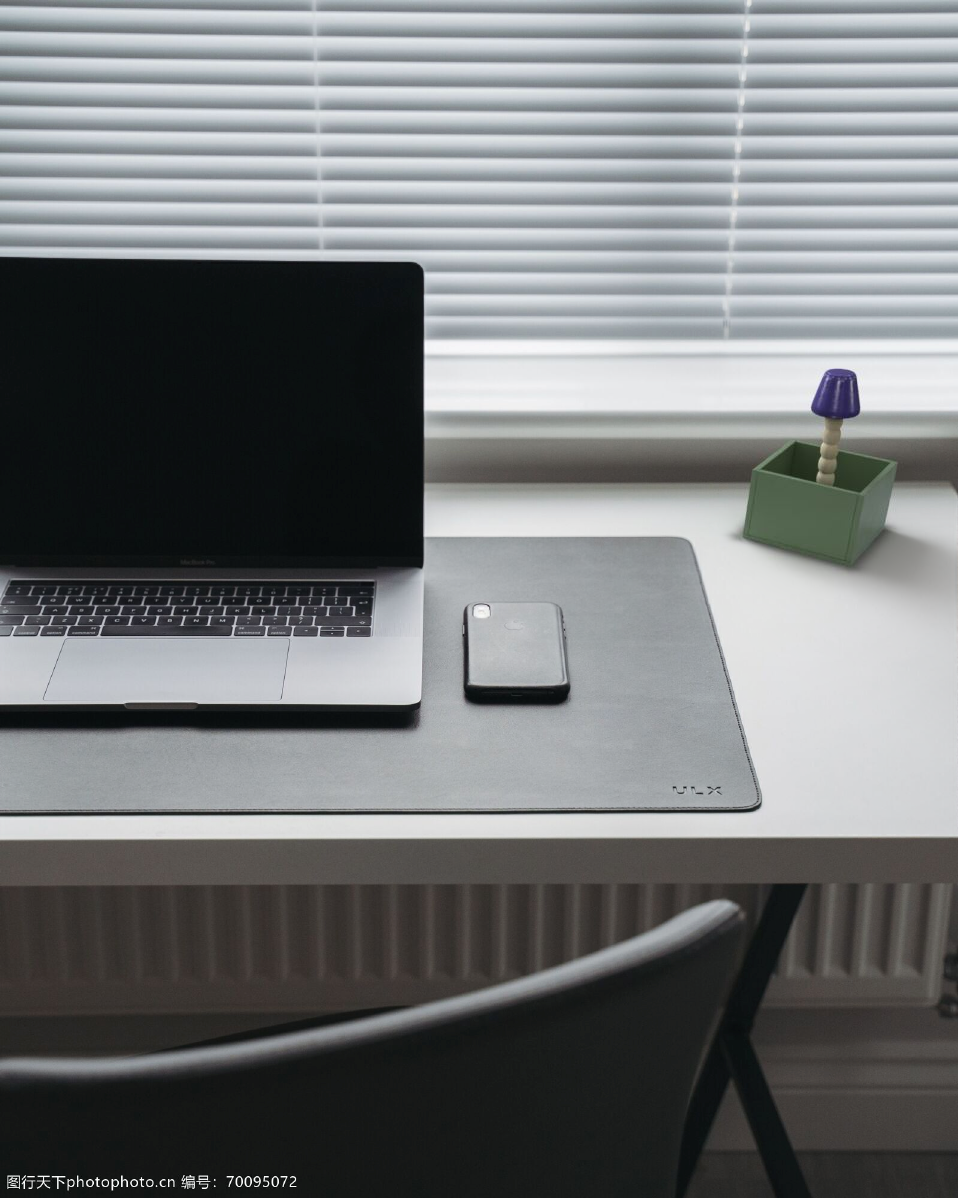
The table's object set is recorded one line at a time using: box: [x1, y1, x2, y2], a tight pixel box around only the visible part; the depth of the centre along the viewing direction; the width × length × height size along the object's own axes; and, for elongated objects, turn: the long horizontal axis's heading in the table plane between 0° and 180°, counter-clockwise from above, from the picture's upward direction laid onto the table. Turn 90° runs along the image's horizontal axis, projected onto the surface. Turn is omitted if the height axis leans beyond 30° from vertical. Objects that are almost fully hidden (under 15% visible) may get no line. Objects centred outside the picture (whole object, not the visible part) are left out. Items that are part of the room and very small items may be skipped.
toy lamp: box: [810, 368, 861, 486], centre depth 110 cm, size 5×5×17 cm
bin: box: [742, 438, 899, 567], centre depth 113 cm, size 11×11×8 cm
